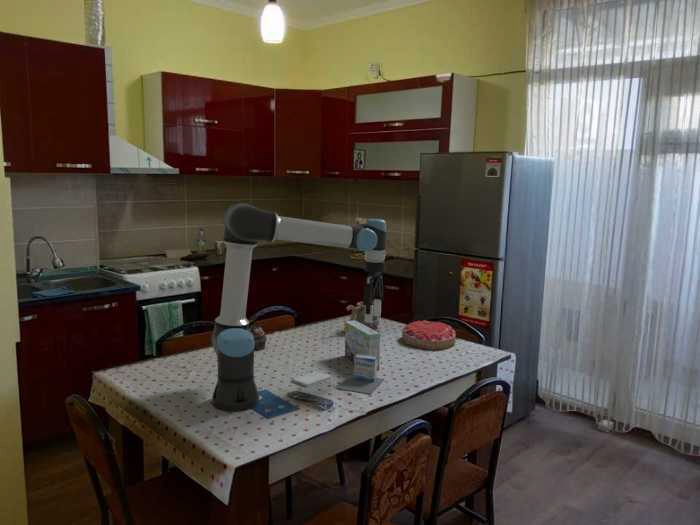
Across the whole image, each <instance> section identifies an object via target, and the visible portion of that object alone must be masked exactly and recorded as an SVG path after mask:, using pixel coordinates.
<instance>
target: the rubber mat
mask: <svg viewBox="0 0 700 525" xmlns="http://www.w3.org/2000/svg"><path fill="white" fill-rule="evenodd" d="M383 382H385V378H383V377H382V378H381V377H377V378H376V379H375V381H374V382H373V381H363V380H355V379H354V373H351V374H350V375H349V376H347V378H345V379H344V380H343V381H342V382H341V383H340V384H338V386H336V388H335V389H337V390H341V391H342V390H343V391H349V392H353V393H355V392H356V393H360V394H364V395H372V394H373V393H374V392H375V390H376V389H377V388H379V386H380V385H381V384H382V383H383Z"/></svg>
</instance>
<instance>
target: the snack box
mask: <svg viewBox="0 0 700 525" xmlns="http://www.w3.org/2000/svg"><path fill="white" fill-rule="evenodd" d="M380 344H381V333H380V332H379V333H378V332H376V331H374V330H373V329H371V328H369V327H367V326H365V325H363V324H361V323H359V322H357V321H355V320H354V321H350V320H347V321H344V356H345V357H347V358H348V359H350V360H351V361H353V362H354V363H355V357H356V355H357V354H359V355H369V356H377V371H379V370H380V354H381V352H380V351H381V350H380V349H381V348H380V347H381V345H380Z"/></svg>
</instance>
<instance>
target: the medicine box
mask: <svg viewBox="0 0 700 525" xmlns="http://www.w3.org/2000/svg"><path fill="white" fill-rule="evenodd" d="M353 368H354V370H353V374H354V379H355V380H363V381H373V382H374V381H375V379H376V378H378V376H377V375H378V370H377V356H369V355H359V354H357V355H356V357H355V362H354V367H353Z"/></svg>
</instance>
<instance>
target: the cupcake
mask: <svg viewBox="0 0 700 525" xmlns="http://www.w3.org/2000/svg"><path fill="white" fill-rule="evenodd" d="M248 331H249V332H251V333H252V334H253V337H254V342H255V345H254V352H259V351H264V349H265V348H266V343H267V336H266V335H265V331H264V330H263V329H262V328H261V327H260V325H254V324H252V325H251V326H249V329H248Z"/></svg>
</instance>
